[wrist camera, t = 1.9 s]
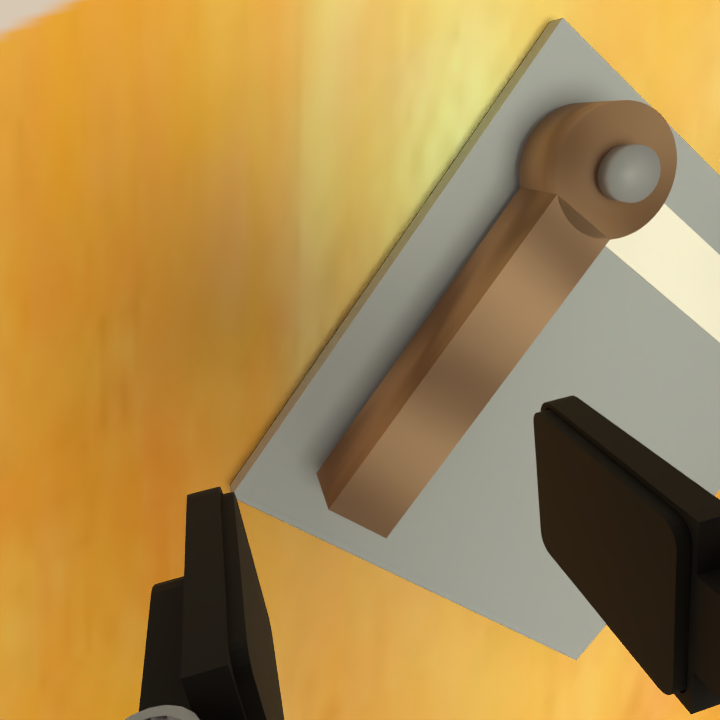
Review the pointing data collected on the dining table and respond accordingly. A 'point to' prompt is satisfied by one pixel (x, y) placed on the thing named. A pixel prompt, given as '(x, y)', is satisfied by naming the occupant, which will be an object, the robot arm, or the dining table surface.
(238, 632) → the robot arm
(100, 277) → the dining table surface
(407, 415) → the lever
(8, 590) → the dining table surface
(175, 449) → the dining table surface
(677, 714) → the dining table surface
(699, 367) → the jig board
